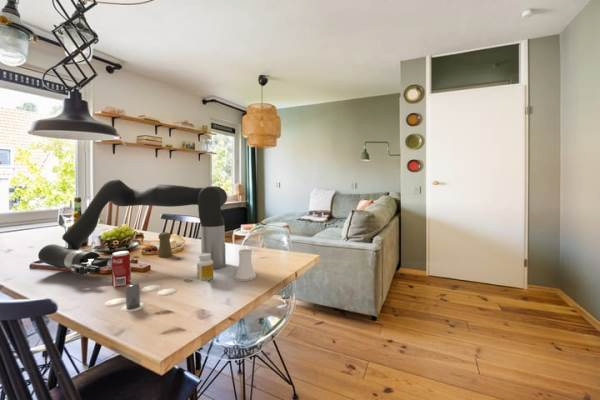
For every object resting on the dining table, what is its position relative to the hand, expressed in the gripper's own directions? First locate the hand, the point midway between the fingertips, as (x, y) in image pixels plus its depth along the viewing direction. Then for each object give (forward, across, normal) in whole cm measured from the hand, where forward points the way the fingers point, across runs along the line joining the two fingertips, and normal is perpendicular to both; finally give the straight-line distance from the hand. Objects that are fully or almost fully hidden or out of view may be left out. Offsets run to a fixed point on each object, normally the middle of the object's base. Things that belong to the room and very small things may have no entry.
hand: (112, 266), depth 93 cm
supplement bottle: (+25, +16, +7) cm, 31 cm away
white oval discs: (+20, -4, +7) cm, 22 cm away
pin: (+24, -10, +5) cm, 26 cm away
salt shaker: (+36, +25, +7) cm, 44 cm away
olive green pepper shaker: (-16, +35, +7) cm, 39 cm away
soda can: (+4, 0, +7) cm, 8 cm away
